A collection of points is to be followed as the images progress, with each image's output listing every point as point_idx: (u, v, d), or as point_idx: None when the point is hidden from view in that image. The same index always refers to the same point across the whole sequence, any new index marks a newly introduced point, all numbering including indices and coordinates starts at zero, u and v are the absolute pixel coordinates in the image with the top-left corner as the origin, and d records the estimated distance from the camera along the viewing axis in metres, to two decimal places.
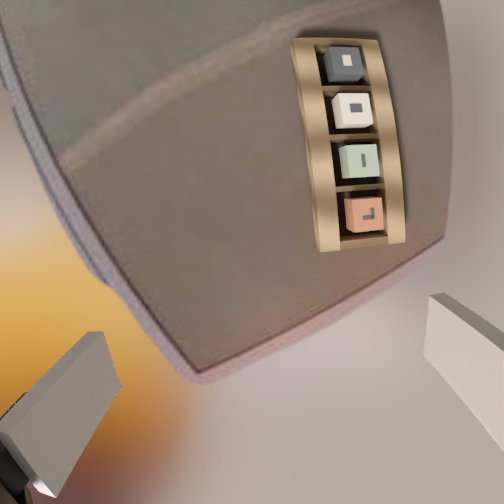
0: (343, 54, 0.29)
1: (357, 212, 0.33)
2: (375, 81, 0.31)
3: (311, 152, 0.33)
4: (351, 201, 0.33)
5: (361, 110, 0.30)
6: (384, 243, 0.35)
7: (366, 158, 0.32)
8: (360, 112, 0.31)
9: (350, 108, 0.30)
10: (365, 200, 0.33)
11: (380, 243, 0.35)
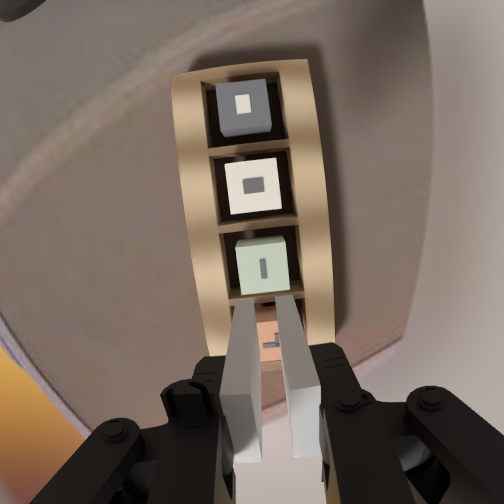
0: (238, 95, 0.20)
1: None
2: (297, 130, 0.22)
3: (192, 253, 0.25)
4: None
5: (262, 188, 0.22)
6: None
7: (267, 265, 0.23)
8: (261, 191, 0.22)
9: (244, 188, 0.22)
10: (266, 323, 0.24)
11: None
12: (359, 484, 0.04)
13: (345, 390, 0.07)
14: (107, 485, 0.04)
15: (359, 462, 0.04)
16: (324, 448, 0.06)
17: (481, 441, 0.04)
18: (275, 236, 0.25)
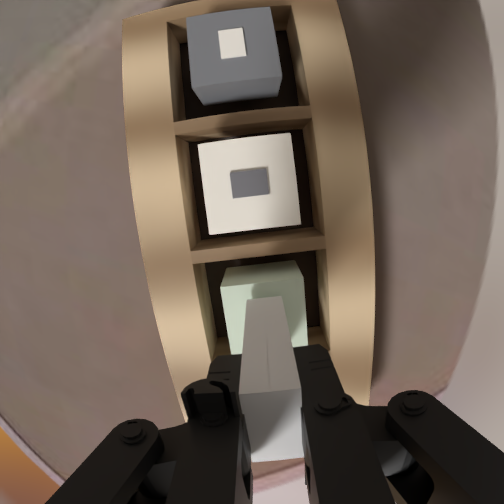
0: (224, 30, 0.10)
1: None
2: (323, 92, 0.13)
3: (152, 294, 0.15)
4: None
5: (266, 188, 0.12)
6: None
7: None
8: (263, 193, 0.12)
9: (233, 187, 0.12)
10: None
11: None
12: (339, 488, 0.04)
13: (325, 393, 0.07)
14: (124, 488, 0.04)
15: (339, 466, 0.04)
16: (305, 451, 0.06)
17: (465, 447, 0.04)
18: (285, 263, 0.16)
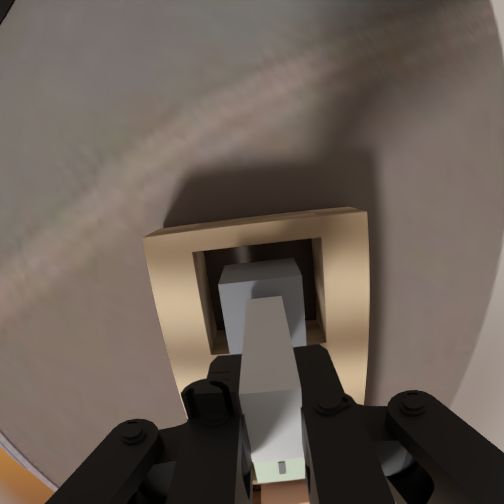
0: None
1: None
2: (339, 330, 0.16)
3: None
4: None
5: None
6: None
7: (287, 465, 0.17)
8: None
9: None
10: None
11: None
12: (339, 488, 0.04)
13: (325, 393, 0.07)
14: (124, 488, 0.04)
15: (339, 466, 0.04)
16: (305, 450, 0.06)
17: (465, 447, 0.04)
18: None
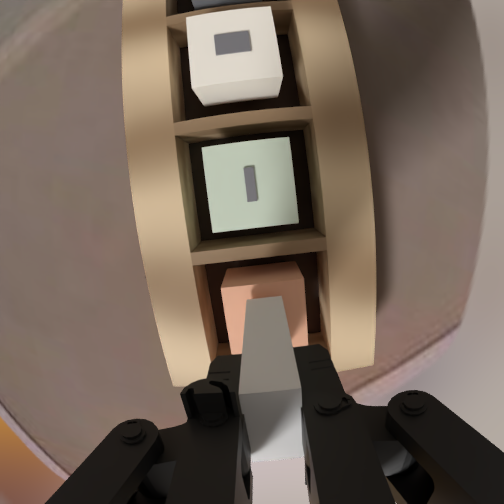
0: None
1: (236, 316, 0.14)
2: None
3: (131, 171, 0.13)
4: None
5: (248, 46, 0.11)
6: None
7: (258, 177, 0.13)
8: (245, 50, 0.11)
9: (216, 46, 0.11)
10: (257, 287, 0.14)
11: None
12: (339, 488, 0.04)
13: (325, 393, 0.07)
14: (124, 488, 0.04)
15: (339, 466, 0.04)
16: (305, 450, 0.06)
17: (465, 447, 0.04)
18: None
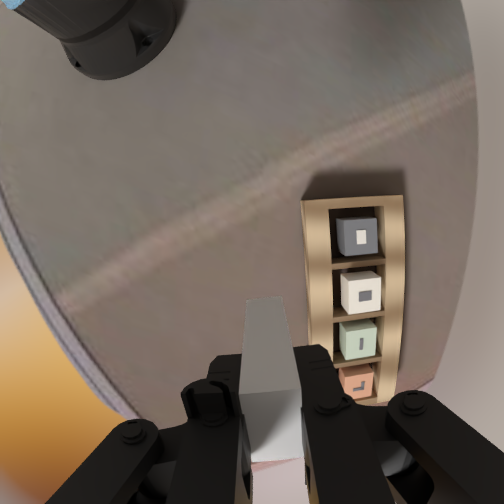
0: (358, 230, 0.30)
1: (348, 386, 0.34)
2: (391, 252, 0.32)
3: (312, 335, 0.33)
4: (344, 377, 0.34)
5: (370, 297, 0.31)
6: (373, 402, 0.35)
7: (364, 341, 0.32)
8: (369, 299, 0.31)
9: (359, 297, 0.31)
10: (357, 376, 0.33)
11: (369, 403, 0.35)
12: (338, 488, 0.04)
13: (325, 393, 0.07)
14: (124, 488, 0.04)
15: (339, 466, 0.04)
16: (305, 451, 0.06)
17: (465, 447, 0.04)
18: (364, 318, 0.35)
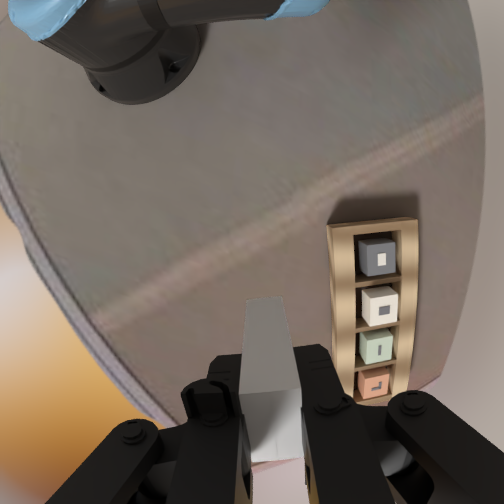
0: (379, 253, 0.34)
1: (367, 386, 0.37)
2: (406, 270, 0.35)
3: (337, 344, 0.37)
4: (364, 378, 0.37)
5: (388, 311, 0.34)
6: (388, 399, 0.39)
7: (382, 348, 0.36)
8: (387, 313, 0.34)
9: (379, 312, 0.34)
10: (375, 377, 0.37)
11: (385, 399, 0.39)
12: (339, 488, 0.04)
13: (325, 393, 0.07)
14: (124, 488, 0.04)
15: (339, 466, 0.04)
16: (305, 450, 0.06)
17: (465, 447, 0.04)
18: None
